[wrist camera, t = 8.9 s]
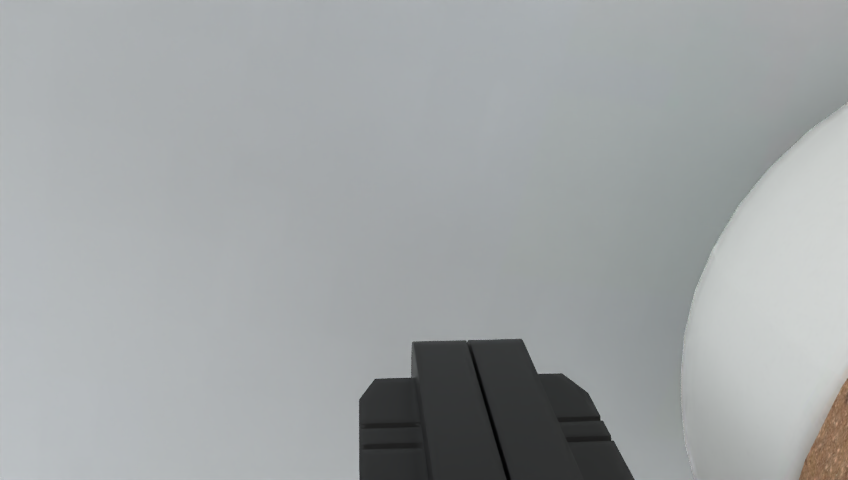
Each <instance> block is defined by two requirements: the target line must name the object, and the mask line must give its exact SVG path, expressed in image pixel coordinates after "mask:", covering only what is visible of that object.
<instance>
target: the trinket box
mask: <svg viewBox="0 0 848 480" xmlns="http://www.w3.org/2000/svg"><path fill="white" fill-rule="evenodd" d="M681 408H682V419H683V429H684V439H685V445H686V449H687V453H688V457H689V461H690V465H691V469H692V473H693V477H694V480H848V102H847V103H846V104H845V105H843V106H842V107H840V108H839V109H838V110H836V111H835V112H834V113H832V114H831V115H829V116H828V117H827V118H825V119H824V120H823V121H821V122H820V123H818V124H817V125H816V126H814V127H813V128H812V129H810V130H809V131H807V132H806V133H805V134H804V135H803V136H802V137H801V138H800V139H799V140H798V141H797V142H796V143H795V144H794V145H793V146H792V147H791V148H790V149H788V150H787V151H786V152H785V153H784V154H783V155H782V156H781V157H780V158H779V159H778V160H777V161H776V162H775V163H774V164H773V165H772V166H771V167H770V168H769V169H768V170H767V171H766V172H765V173H764V174H763V176H762V177H761V178H760V179H759V181H758V182H757V183H756V184H755V186H754V187H753V188H752V189H751V191H750V192H749V193H748V194H747V196H746V197H745V198H744V199H743V201H742V202H741V203H740V204H739V206H738V207H737V209H736V210H735V212H734V214H733V215H732V217H731V219H730V220H729V222H728V224H727V225H726V227H725V229H724V230H723V232H722V234H721V235H720V237H719V239H718V240H717V242H716V244H715V245H714V247H713V249H712V251H711V254H710V256H709V259H708V261H707V263H706V266H705V268H704V271H703V273H702V275H701V278H700V280H699V283H698V285H697V287H696V290H695V293H694V297H693V301H692V305H691V309H690V313H689V317H688V321H687V325H686V329H685V333H684V344H683V356H682V369H681Z"/></svg>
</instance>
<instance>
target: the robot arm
mask: <svg viewBox="0 0 848 480" xmlns="http://www.w3.org/2000/svg"><path fill="white" fill-rule="evenodd" d="M359 471H360V480H634V478H633V476H632V474H631V472H630V470H629V469H628V467H627V465H626V463H625V461H624V459H623V457H622V456H621V454H620V452H619V450H618V448H617V446H616V444H615V443H614V441H611V435H610V433H609V431H608V430H607V428H606V426H605V424H604V422H603V421H601V420H600V415H599V413H598V411H597V409H596V407H595V405H594V403H593V402H592V400H591V398H590V396H589V394H588V393H587V392H586V391H585V390H583V389H582V388H581V387H579V386H578V385H577V384H575V383H574V382H573V381H571V380H570V379H569V378H567V377H566V376H565V375H563V374H537V372H536V369H535V367H534V365H533V363H532V360H531V358H530V356H529V353H528V351H527V349H526V347H525V344H524V342H523V340H522V339H500V340H468V342H466V341H465V340H464V341H422V342H413V343H412V357H411V378H387V379H375V380H374V381H373V382H372V384H371V385H370V386H369V388H368V389H367V390H366V392H365V393H364V394H363V396H362V397H361V398H360V400H359Z"/></svg>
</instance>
